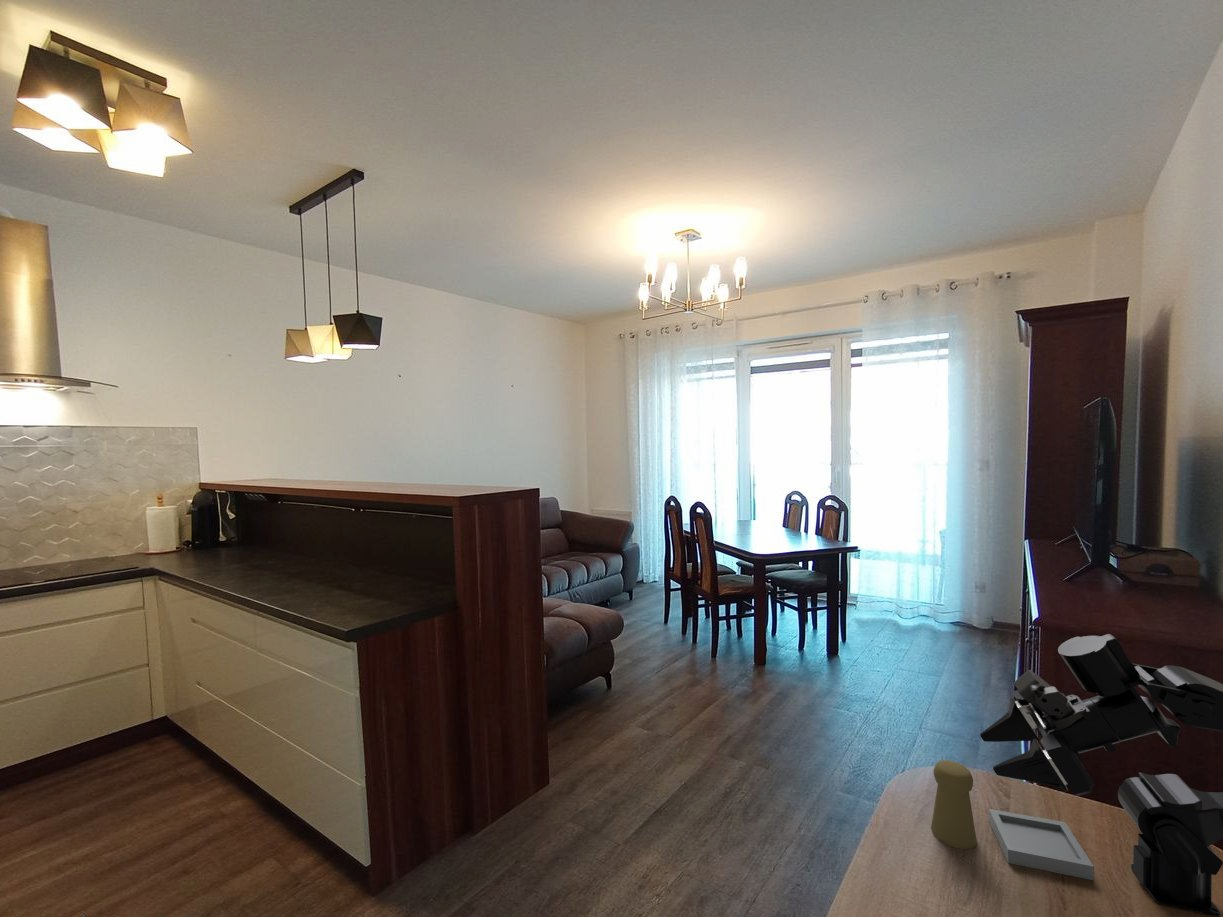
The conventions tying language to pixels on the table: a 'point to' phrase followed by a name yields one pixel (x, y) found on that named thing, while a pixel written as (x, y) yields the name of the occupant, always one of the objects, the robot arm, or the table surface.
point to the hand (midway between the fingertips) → (987, 753)
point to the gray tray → (1040, 844)
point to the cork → (953, 805)
